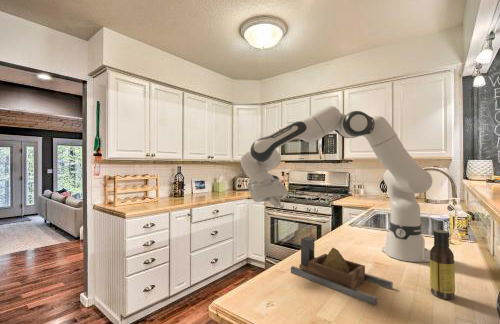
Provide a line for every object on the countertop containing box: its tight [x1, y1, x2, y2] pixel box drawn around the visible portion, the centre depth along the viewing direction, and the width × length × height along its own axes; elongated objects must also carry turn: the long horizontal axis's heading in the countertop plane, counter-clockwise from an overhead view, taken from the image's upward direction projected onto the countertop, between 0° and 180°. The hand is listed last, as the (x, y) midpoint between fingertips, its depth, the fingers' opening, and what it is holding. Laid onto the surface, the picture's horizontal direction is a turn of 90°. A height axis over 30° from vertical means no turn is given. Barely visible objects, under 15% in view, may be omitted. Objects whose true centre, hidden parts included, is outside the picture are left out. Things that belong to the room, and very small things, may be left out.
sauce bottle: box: [429, 229, 456, 300], centre depth 80 cm, size 6×6×20 cm
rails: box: [290, 256, 394, 306], centre depth 90 cm, size 15×30×2 cm, turn 44°
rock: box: [322, 247, 350, 273], centre depth 91 cm, size 11×9×10 cm
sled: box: [298, 236, 366, 289], centre depth 93 cm, size 11×21×11 cm, turn 44°
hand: (278, 206), depth 109 cm, fingers closed
